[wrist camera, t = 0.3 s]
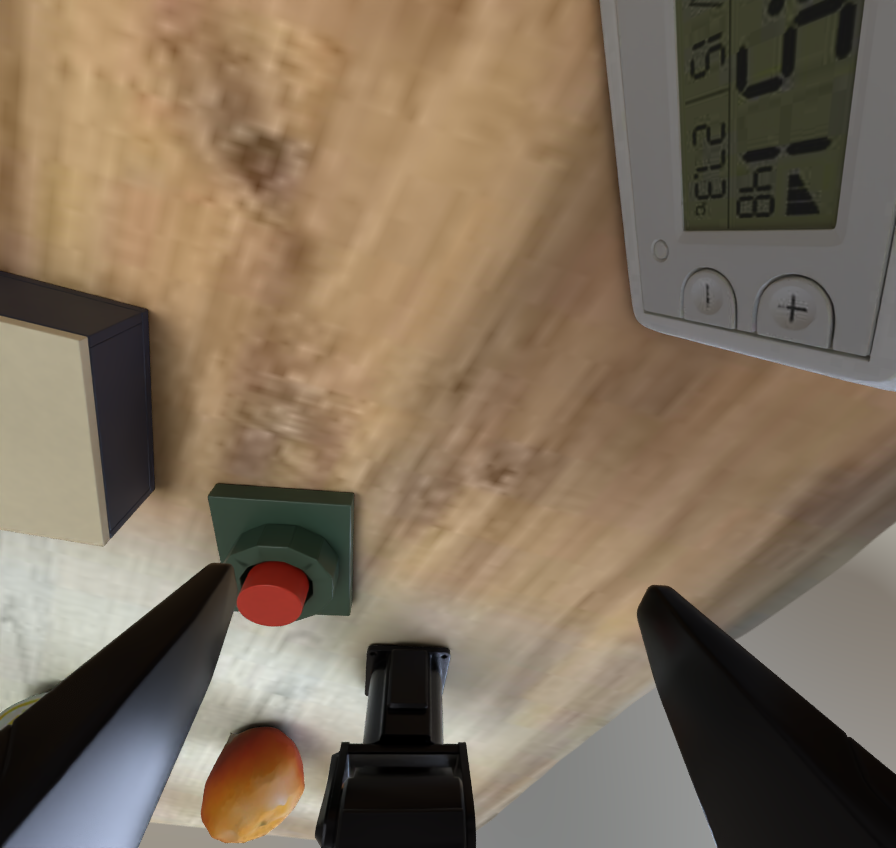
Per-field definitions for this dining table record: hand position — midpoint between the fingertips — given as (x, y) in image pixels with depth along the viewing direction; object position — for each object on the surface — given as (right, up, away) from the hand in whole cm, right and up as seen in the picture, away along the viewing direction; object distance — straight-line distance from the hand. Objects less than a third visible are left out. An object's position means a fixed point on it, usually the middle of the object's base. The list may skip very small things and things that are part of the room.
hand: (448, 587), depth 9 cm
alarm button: (-10, -6, +16) cm, 20 cm away
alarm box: (-10, -5, +18) cm, 22 cm away
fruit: (-17, -26, +30) cm, 43 cm away
